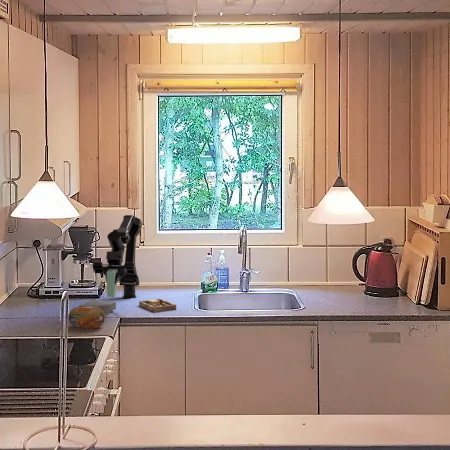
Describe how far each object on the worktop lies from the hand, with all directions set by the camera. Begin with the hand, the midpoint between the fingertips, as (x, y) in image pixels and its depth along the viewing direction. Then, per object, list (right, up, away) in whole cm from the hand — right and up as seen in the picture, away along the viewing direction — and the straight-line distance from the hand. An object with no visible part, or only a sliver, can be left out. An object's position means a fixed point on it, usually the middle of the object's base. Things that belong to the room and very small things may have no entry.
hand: (111, 283), depth 320 cm
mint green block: (0, -5, +2) cm, 6 cm away
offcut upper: (+17, -10, +13) cm, 24 cm away
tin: (-6, -16, -21) cm, 27 cm away
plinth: (-7, -13, +4) cm, 15 cm away
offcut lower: (+17, -11, +13) cm, 24 cm away
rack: (+19, -12, +10) cm, 25 cm away
